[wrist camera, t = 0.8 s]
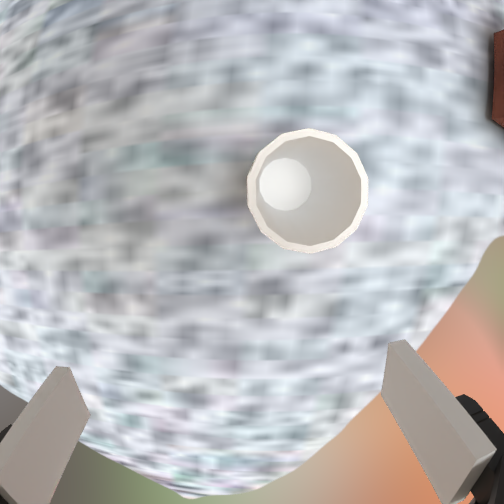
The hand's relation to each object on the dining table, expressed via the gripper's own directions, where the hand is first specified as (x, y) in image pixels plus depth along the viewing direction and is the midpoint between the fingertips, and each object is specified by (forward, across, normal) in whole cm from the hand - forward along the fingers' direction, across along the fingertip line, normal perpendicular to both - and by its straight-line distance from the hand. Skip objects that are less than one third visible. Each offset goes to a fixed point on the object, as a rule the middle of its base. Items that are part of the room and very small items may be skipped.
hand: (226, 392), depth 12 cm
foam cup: (+27, +6, +6) cm, 28 cm away
